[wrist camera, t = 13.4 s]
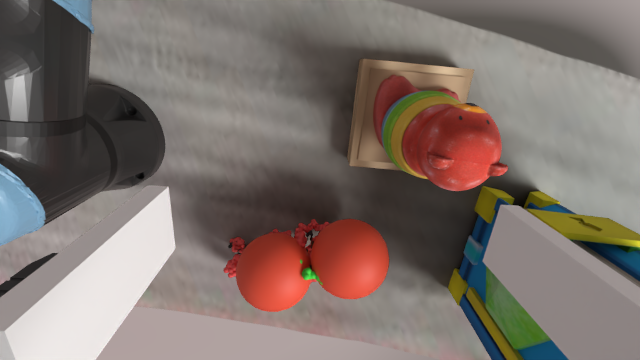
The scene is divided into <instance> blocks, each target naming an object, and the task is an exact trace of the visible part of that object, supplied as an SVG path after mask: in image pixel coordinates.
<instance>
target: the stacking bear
mask: <svg viewBox="0 0 640 360" xmlns="http://www.w3.org/2000/svg"><path fill="white" fill-rule="evenodd" d="M373 122H374V129H375V133H376V136H377V139H378V141H379V143H380V144H381V146H382V147H383V148H384V150H385V152H386V154H387V156H388V157H389V158H390V160H391V161H392V162H393V163H394V164H395V165H396V166H397V167H398V168H400V169H401V170H403V171H405V172H407V173H409V174H411V175H414V176H417V177H420V178H424V179H429V180H430V181H431V182H432V183H434V184H435V185H437V186H439V187H441V188H443V189H447V190H452V191H463V190H468V189H471V188H474V187H476V186H478V185H480V184H481V183H483V182H484V181H485V180H487V179H488V178H489V177H490V176H501V175H503V174H504V173H505V172H506V171H507V170H508V166H507V165H504V164H502V163H499V160H500V156H501V149H502V145H501V138H500V134H499V131H498V128H497V126H496V124H495V122H494V121H493V119H492V118H491V116H490V115H489V114H488V113H487V112H486V111H485V110H483V109H482V108H480V107H479V106H477V105H475V104H472V103H464V104H461V101H460V100H459V98H458V95H457V93H455V92H453V91H450V90H449V89H446V88H443V89H439V90H435V91H422V90H419V89H417V88H415V87H414V86H413V85H412V84H411V83H410V82H409V80H408V79H406V78H405V77H404V76H396V75H391V76H390V77H389V78H388V79H384V80H383V81H382V82H381V84H380V86H379V88H378V91H377V94H376V97H375V102H374V109H373Z"/></svg>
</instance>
